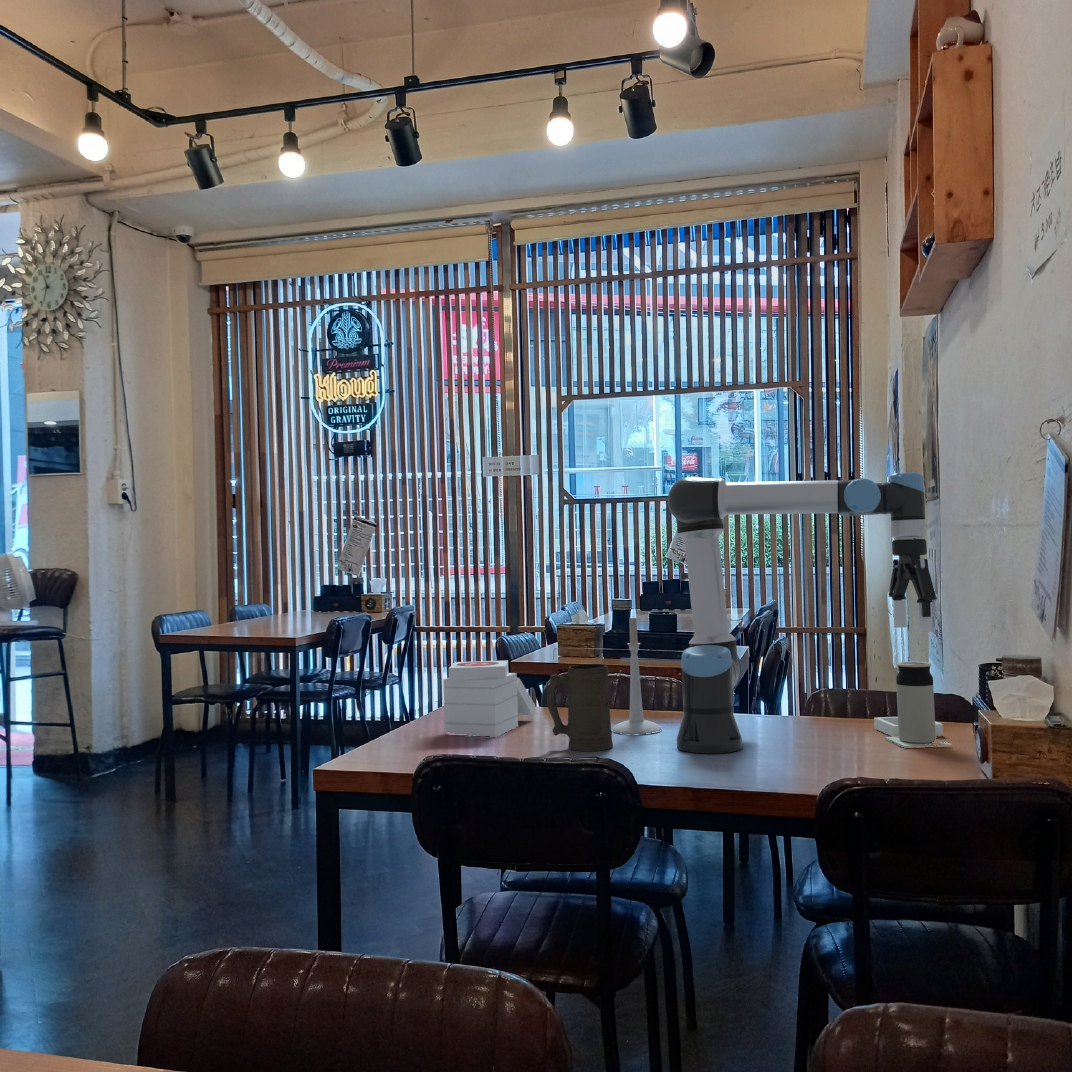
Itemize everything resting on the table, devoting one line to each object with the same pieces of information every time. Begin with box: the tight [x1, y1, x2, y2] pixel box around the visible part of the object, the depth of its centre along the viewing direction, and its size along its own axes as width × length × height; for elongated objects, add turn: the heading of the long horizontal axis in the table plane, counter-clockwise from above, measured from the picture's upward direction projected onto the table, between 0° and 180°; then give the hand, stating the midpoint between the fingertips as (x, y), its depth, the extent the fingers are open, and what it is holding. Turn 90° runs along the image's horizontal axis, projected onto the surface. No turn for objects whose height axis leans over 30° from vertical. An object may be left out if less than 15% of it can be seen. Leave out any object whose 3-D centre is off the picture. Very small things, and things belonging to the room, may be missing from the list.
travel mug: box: [895, 661, 937, 744], centre depth 215 cm, size 8×8×18 cm
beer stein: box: [546, 663, 614, 752], centre depth 222 cm, size 15×11×20 cm
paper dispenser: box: [442, 659, 536, 738], centre depth 254 cm, size 19×30×18 cm, turn 158°
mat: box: [884, 736, 953, 747], centre depth 215 cm, size 11×11×1 cm
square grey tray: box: [873, 716, 944, 736], centre depth 227 cm, size 12×12×3 cm
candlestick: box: [611, 617, 662, 735], centre depth 243 cm, size 13×13×30 cm
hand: (912, 629), depth 216 cm, fingers open, 13 cm apart
